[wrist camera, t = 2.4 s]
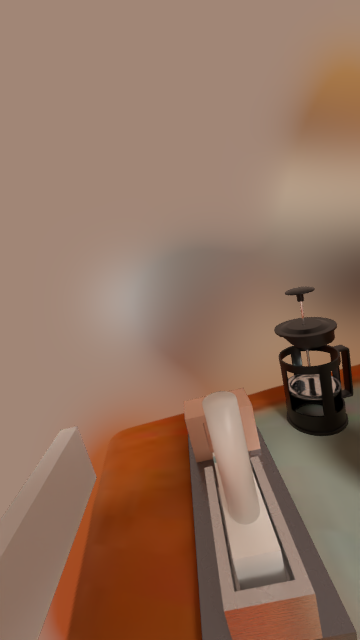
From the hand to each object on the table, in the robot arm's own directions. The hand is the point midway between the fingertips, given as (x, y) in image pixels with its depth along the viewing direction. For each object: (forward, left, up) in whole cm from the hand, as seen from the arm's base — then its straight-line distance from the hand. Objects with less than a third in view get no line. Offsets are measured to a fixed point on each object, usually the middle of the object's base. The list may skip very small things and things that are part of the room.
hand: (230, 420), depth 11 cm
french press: (-17, -30, -25) cm, 42 cm away
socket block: (0, -26, -23) cm, 35 cm away
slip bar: (0, -12, -21) cm, 25 cm away
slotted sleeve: (0, -17, -25) cm, 30 cm away
